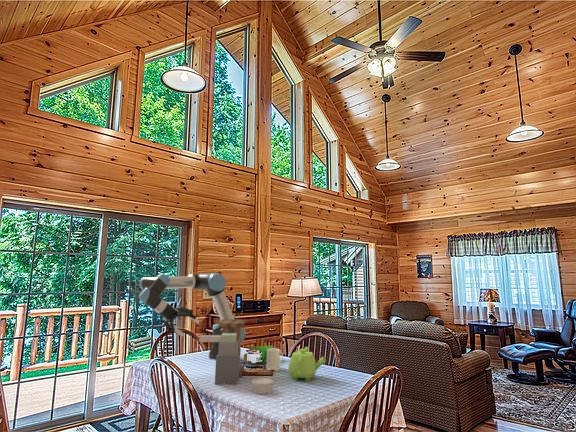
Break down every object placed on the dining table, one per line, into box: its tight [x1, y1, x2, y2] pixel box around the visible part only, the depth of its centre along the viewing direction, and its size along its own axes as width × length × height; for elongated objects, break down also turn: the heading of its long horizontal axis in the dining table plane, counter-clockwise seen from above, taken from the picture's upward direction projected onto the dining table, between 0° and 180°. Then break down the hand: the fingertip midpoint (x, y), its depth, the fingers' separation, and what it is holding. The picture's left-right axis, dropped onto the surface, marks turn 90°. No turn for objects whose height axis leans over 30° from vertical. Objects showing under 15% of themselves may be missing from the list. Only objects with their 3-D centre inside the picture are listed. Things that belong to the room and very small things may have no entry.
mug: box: [266, 347, 284, 372], centre depth 237 cm, size 12×8×12 cm
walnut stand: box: [218, 318, 246, 378], centre depth 227 cm, size 14×20×30 cm
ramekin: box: [251, 377, 274, 395], centre depth 191 cm, size 11×11×5 cm
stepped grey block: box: [214, 340, 241, 385], centre depth 209 cm, size 12×12×21 cm
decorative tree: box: [243, 345, 278, 363], centre depth 257 cm, size 11×12×30 cm
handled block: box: [199, 333, 237, 343], centre depth 211 cm, size 20×8×4 cm, turn 93°
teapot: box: [288, 346, 327, 382], centre depth 219 cm, size 25×22×16 cm
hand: (191, 328), depth 225 cm, fingers open, 13 cm apart
